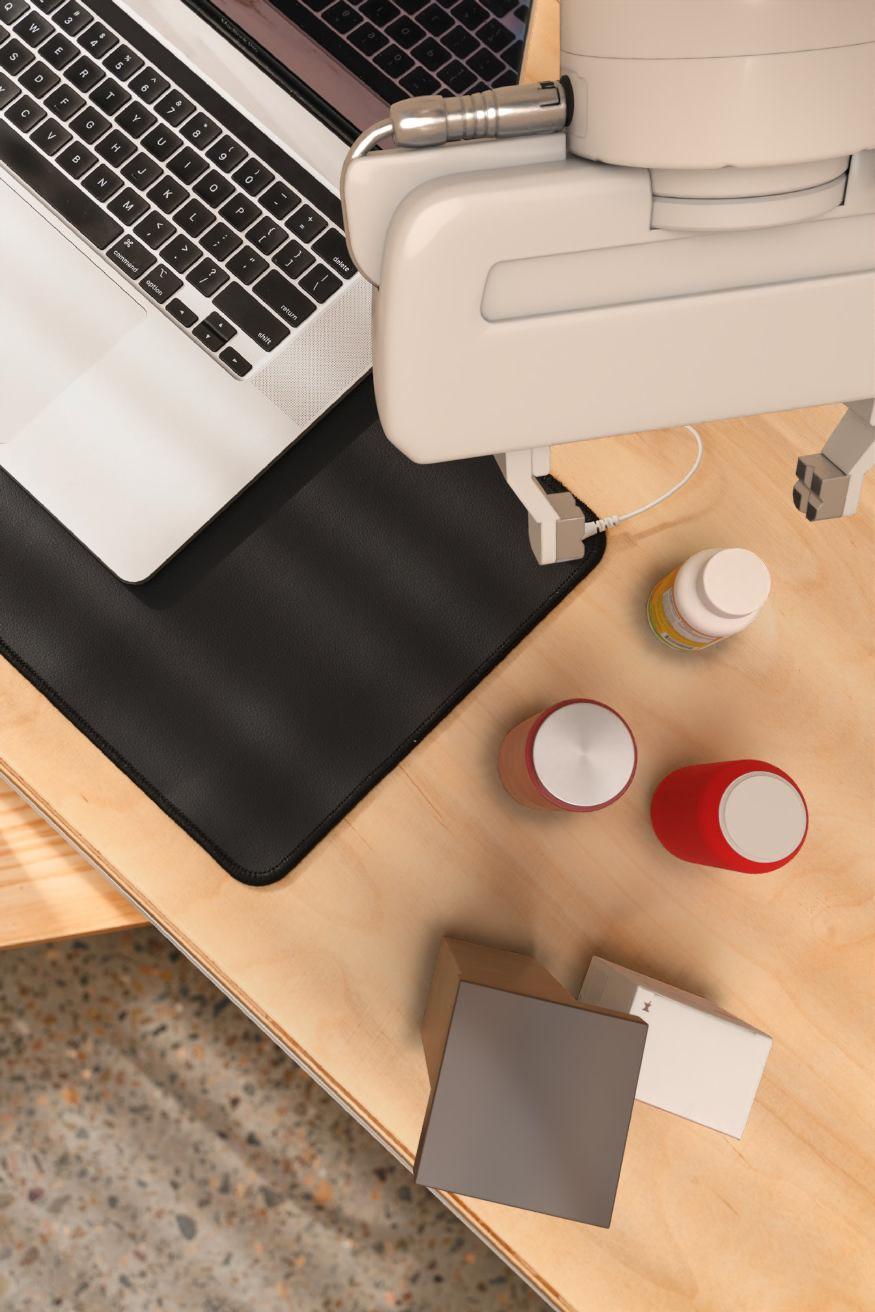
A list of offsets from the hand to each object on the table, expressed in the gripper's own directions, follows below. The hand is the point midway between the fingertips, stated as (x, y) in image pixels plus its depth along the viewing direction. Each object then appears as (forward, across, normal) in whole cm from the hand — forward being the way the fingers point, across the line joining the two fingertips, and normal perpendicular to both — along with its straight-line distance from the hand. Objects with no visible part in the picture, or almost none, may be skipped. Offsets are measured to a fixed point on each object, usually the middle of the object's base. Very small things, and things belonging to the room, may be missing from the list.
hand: (690, 532), depth 33 cm
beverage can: (+30, +8, +14) cm, 34 cm away
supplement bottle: (+21, +10, +23) cm, 33 cm away
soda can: (+27, -1, +18) cm, 32 cm away
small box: (+39, +2, +6) cm, 39 cm away
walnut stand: (+36, -8, +8) cm, 38 cm away
